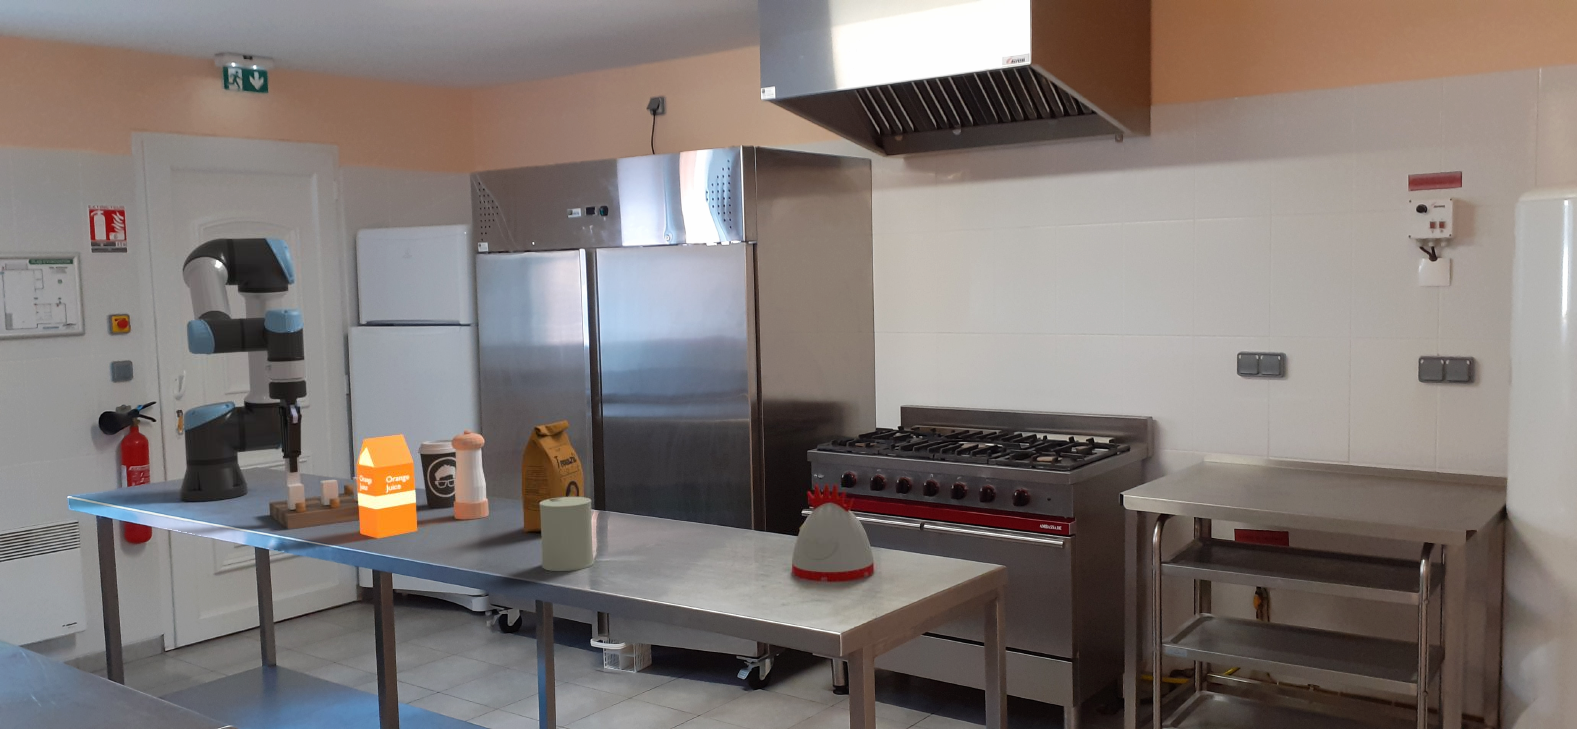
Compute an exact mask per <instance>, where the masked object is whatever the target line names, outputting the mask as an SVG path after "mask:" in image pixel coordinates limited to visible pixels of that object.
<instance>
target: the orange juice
mask: <svg viewBox="0 0 1577 729" xmlns="http://www.w3.org/2000/svg"><path fill="white" fill-rule="evenodd" d="M359 452H360V453H359V455H358V459H357V462H356V477H357V482H358V504H359V516H360V520H359V530H360V532H359V533H360V534H361V535H365V536H369V537H371V538H375V539H381V538H386V537H391V536H397V535H402V534H407V533H412V532H417V531H418V524H417V523H418V522H417V521H418V520H417V505H416V504H417V499H416V498H417V496H416V485H415V484H416V483H415V467H414V466H415V464H414V461H413V457H412V455H411V452H410V450H409V448H408V444H407V442H406V440H405V437H404V434H396V435H388V436H386V435H385V436H380V437H372V438H364V439H363V443H362V446H361V449H360V451H359Z"/></svg>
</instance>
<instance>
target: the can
mask: <svg viewBox="0 0 1577 729" xmlns="http://www.w3.org/2000/svg"><path fill="white" fill-rule="evenodd" d="M539 505H540V516H541V532H540V533H541V535H540V536H541V556H542V558H541V559H542V562H541V568H542V569H543V570H545V571H551V572H572V571H579V570H585V569H587V568H590V567H591V566H593V565H594V564H595V560H594V550H593V525H592V499H590V498H589V497H585V496H584V497H559V498H552V499H547V500H544V501H541V502H540V503H539Z"/></svg>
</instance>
